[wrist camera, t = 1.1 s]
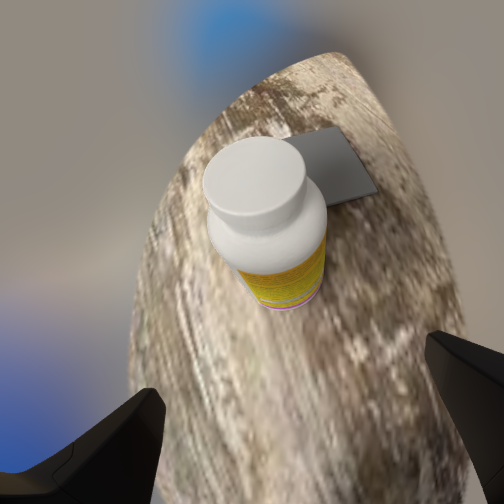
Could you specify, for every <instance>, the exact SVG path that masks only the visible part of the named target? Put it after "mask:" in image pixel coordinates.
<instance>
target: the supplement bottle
mask: <svg viewBox="0 0 504 504" xmlns="http://www.w3.org/2000/svg"><path fill="white" fill-rule="evenodd" d="M202 184H203V191H204V194H205V196H206V198H207V200H208V202H209V204H210V206H209V210H208V215H207V228H208V234H209V237H210V240H211V242H212V244H213V246H214V248H215V249H216V251H217V252H218V254H219V255H220V256H221V257H222V259H223V260H224V261H225V263H226V264H227V265H228V267H229V268H230V269H231V271H232V272H233V273H234V275H235V276H236V277H237V279H238V280H239V281H240V282H241V284H242V285H243V286H244V288H245V289H246V290H247V292H248V293H249V294H250V296H251V297H252V298H253V299H254V300H255V301H256V302H257V303H259V304H260V305H262V306H264V307H266V308H269V309H272V310H278V311H286V310H292V309H295V308H298V307H300V306H302V305H304V304H306V303H307V302H308V301H310V300H311V299H312V298H313V297H314V295H315V294H316V293H317V291H318V290H319V288H320V286H321V283H322V280H323V274H324V261H325V247H326V230H327V209H326V204H325V200H324V198H323V195H322V193H321V191H320V190H319V188H318V187H317V186H316V184H315V183H314V182H313V181H312V180H311V179H310V178H309V177H308V176H307V174H306V166H305V162H304V159H303V157H302V155H301V154H300V152H299V151H298V150H297V149H296V148H295V147H294V146H292V145H291V144H289V143H288V142H286V141H284V140H281V139H278V138H273V137H265V136H257V137H249V138H245V139H242V140H239V141H236V142H234V143H232V144H230V145H228V146H226V147H225V148H223V149H222V150H220V151H219V152H218V153H217V154H216V155H215V156H214V157H213V158H212V159H211V161H210V162H209V164H208V165H207V167H206V169H205V172H204V175H203V183H202Z"/></svg>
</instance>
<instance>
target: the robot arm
mask: <svg viewBox="0 0 504 504" xmlns="http://www.w3.org/2000/svg"><path fill="white" fill-rule="evenodd" d="M425 360H426V362H427V365H428V367H429V369H430V372H431V374H432V377H433V379H434V382H435V384H436V387H437V389H438V392H439V394H440V396H441V398H442V400H443V402H444V404H445V406H446V408H447V410H448V412H449V414H450V416H451V418H452V420H453V422H454V424H455V426H456V428H457V430H458V432H459V434H460V436H461V438H462V440H463V443H464V445H465V447H466V449H467V452H468V454H469V456H470V458H471V461H472V463H473V465H474V468H475V470H476V473H477V475H478V478H479V480H480V483H481V486H482V488H483V492H484V494H485V497H486V500H487V503H488V504H504V354H502V353H499V352H497V351H494V350H491V349H489V348H486V347H483V346H481V345H478V344H475V343H472V342H470V341H467V340H464V339H462V338H459V337H456V336H454V335H451V334H448V333H446V332H443V331H440V330H436V331H433V332H431V333H429V334H428V335H427V337H426V345H425ZM165 415H166V406H165V403H164V401H163V400H162V398H161V397H160V395H159V393H158V392H157V390H156V389H154V388H143V389H142V390H140V391H139V392H138V393H137V394H135V395H134V396H133V397H132V398H130V399H129V400H128V401H126V402H125V403H124V404H123V405H121V406H120V407H119V408H117V409H116V410H115V411H113V412H112V413H111V414H110V415H108V416H107V417H106V418H104V419H103V420H102V421H100V422H99V423H98V424H96V425H95V426H94V427H93V428H91V429H90V430H88V431H87V432H86V433H84V434H83V435H82V436H80V437H79V438H78V439H76V440H75V442H72V443H71V444H69V445H68V446H66V447H65V448H64V449H62V450H61V451H59V452H58V453H56V454H54V455H53V456H51V457H49V458H48V459H46V460H44V461H43V462H41V463H39V464H37V465H35V466H34V467H32V468H30V469H28V470H26V471H24V472H20V473H5V472H0V504H150V502H151V497H152V492H153V487H154V482H155V477H156V472H157V467H158V462H159V458H160V453H161V448H162V442H163V433H164V424H165Z"/></svg>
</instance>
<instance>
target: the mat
mask: <svg viewBox="0 0 504 504" xmlns="http://www.w3.org/2000/svg"><path fill="white" fill-rule="evenodd" d="M281 140H284V141H286V142H288V143H289V144H291V145H292V146H294V147H295V148H296V149H297V150H298V151H299V152H300V154H301V155H302V157H303V159H304V162H305V166H306V174H307V176H308V177H309V178H310V179H311V180H312V181H313V182H314V183H315V184H316V186H317V187H318V188H319V190H320V191H321V193H322V195H323V198H324V200H325V204H326V207H329V206H332V205H336V204H339V203H343V202H346V201H350V200H354V199H357V198H361V197H364V196H368V195H372V194H375V193H377V192H378V190H377V188H376V186H375V185H374V183H373V181H372V179H371V178H370V176H369V174H368V173H367V171H366V169H365V168H364V166H363V164H362V163H361V161H360V160H359V158H358V156H357V155H356V153H355V152H354V150H353V149H352V147H351V146H350V144H349V143H348V141H347V140H346V138H345V137H344V135H343V134H342V132H341V131H340V129H339V128H338V127H337V126H335V127H330V128H326V129H321V130H317V131H313V132H308V133H304V134H300V135H296V136H292V137H288V138H285V139H281Z"/></svg>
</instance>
